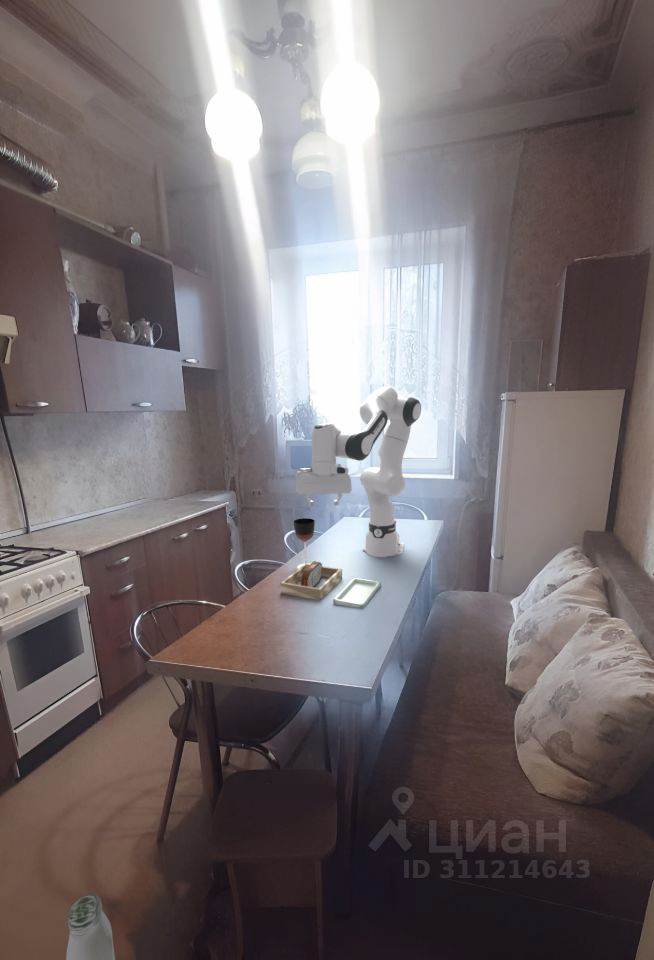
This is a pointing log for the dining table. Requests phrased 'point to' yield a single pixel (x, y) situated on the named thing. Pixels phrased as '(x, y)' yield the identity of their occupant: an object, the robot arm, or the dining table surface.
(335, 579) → the birch crate
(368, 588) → the sage tray
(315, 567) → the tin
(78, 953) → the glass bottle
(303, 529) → the wineglass
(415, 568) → the dining table surface
